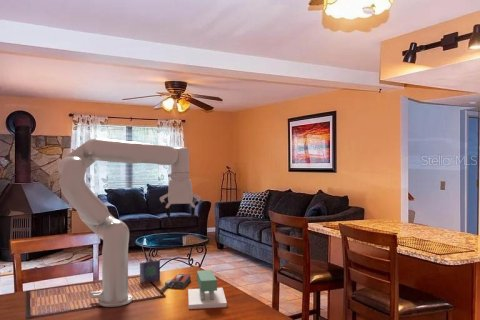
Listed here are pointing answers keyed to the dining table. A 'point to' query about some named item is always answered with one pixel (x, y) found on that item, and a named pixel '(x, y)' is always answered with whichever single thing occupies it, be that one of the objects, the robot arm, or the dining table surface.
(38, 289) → the dining table surface
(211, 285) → the green boxy piece
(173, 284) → the walkie-talkie
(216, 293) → the standoff plate
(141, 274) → the flask
